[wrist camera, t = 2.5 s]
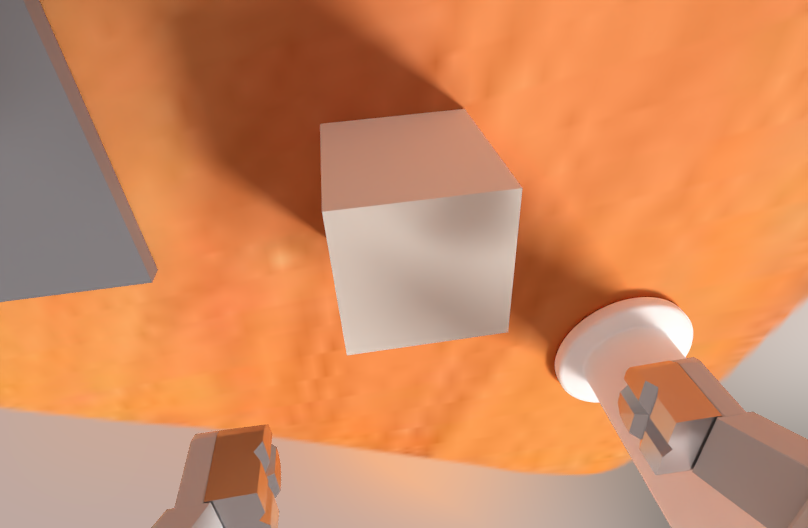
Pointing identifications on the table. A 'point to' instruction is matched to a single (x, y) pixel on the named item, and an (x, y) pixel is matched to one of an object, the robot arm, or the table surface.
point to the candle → (604, 380)
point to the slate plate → (56, 175)
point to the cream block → (418, 229)
